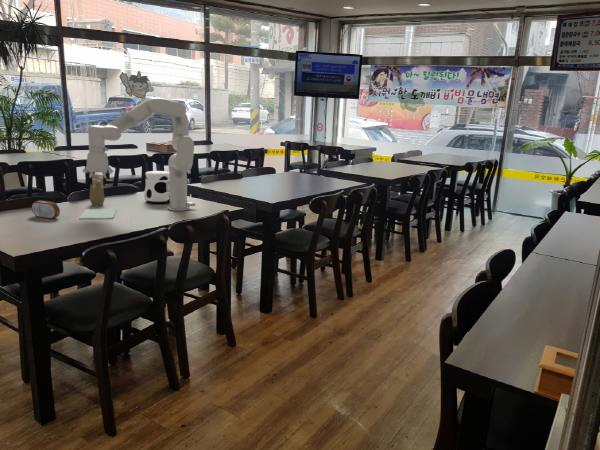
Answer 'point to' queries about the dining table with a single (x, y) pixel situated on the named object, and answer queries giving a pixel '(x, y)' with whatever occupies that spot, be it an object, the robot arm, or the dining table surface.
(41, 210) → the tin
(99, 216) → the mat
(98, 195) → the squeeze bottle
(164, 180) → the milk container
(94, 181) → the stool
